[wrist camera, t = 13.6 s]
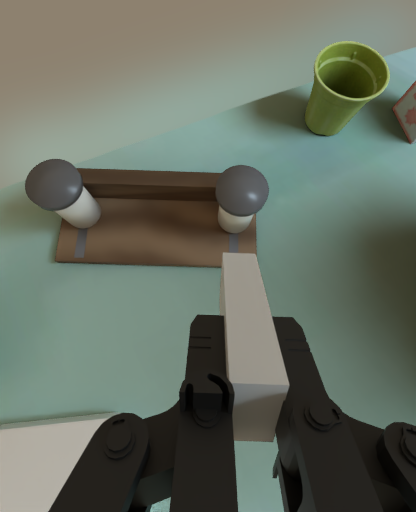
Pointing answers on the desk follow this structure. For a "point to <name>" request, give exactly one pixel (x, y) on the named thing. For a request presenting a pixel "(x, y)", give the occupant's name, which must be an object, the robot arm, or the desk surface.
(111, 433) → the robot arm
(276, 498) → the desk surface
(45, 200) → the knob
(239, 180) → the knob
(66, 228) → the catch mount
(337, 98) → the plant pot
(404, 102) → the gable top carton
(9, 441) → the computer
